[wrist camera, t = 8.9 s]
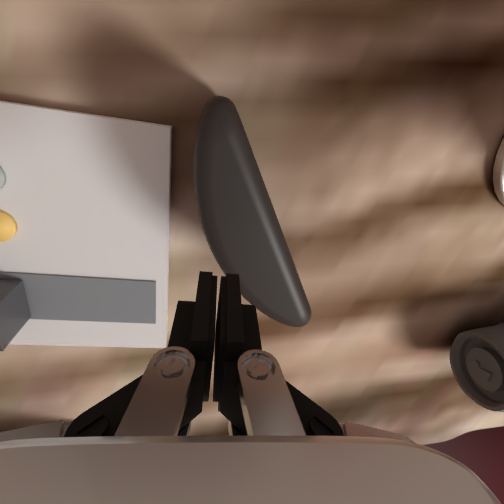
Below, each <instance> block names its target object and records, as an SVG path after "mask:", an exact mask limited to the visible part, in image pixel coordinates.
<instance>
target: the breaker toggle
mask: <svg viewBox="0 0 504 504" xmlns="http://www.w3.org/2000/svg"><path fill="white" fill-rule="evenodd" d="M30 317H31V313H30V309H29V305H28V301H27V297H26V292H25V288H24V284H23V280H10V279H0V351H3V350H4V349H5V348H6V346H7V345H8V344H9V343H10V342H11V340H12V339H13V338H14V337H15V336H16V334H17V333H18V332H19V331H20V330H21V328H22V327H23V326H24V325H25V323H26V322H27V321H28V320H29V319H30Z"/></svg>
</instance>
